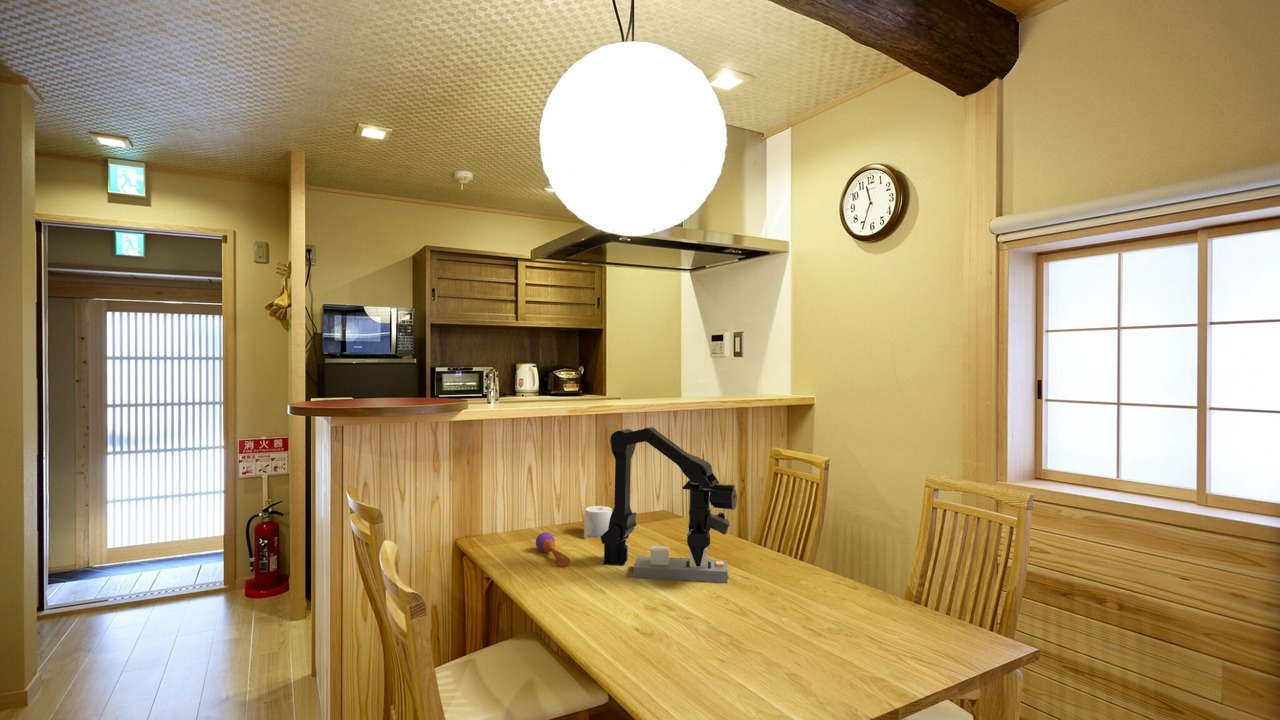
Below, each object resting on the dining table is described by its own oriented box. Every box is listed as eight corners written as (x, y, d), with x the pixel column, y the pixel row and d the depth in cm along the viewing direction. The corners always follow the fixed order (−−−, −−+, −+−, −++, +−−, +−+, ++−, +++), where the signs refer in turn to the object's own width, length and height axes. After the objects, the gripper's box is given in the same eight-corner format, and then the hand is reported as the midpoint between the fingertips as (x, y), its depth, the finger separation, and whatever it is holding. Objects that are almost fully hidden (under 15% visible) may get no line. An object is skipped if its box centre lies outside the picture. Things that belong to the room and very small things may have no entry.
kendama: (553, 555, 180) (531, 533, 197) (556, 574, 181) (534, 550, 198) (572, 549, 182) (549, 527, 200) (575, 568, 183) (552, 544, 201)
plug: (689, 577, 174) (689, 552, 174) (690, 572, 178) (690, 548, 178) (707, 578, 174) (707, 553, 174) (707, 573, 178) (707, 548, 178)
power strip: (633, 577, 173) (633, 552, 173) (637, 566, 183) (637, 542, 183) (727, 582, 170) (727, 557, 170) (726, 570, 180) (726, 546, 180)
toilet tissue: (581, 540, 209) (582, 514, 209) (587, 529, 222) (587, 505, 222) (608, 541, 208) (609, 515, 208) (612, 530, 222) (612, 506, 222)
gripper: (729, 515, 166) (728, 573, 166) (726, 499, 185) (726, 552, 184) (687, 513, 167) (686, 571, 167) (689, 498, 186) (688, 550, 186)
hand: (698, 560), depth 176 cm, fingers open, 9 cm apart
